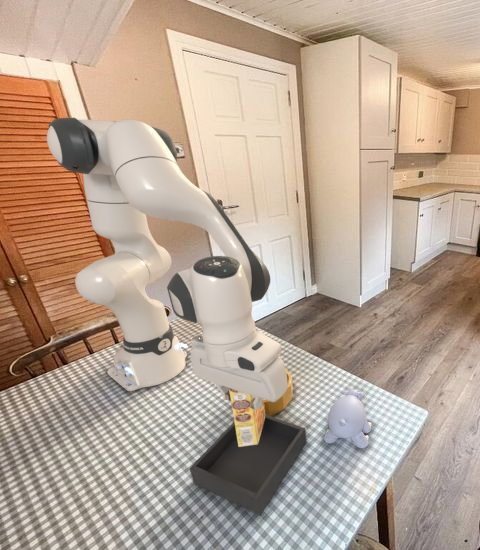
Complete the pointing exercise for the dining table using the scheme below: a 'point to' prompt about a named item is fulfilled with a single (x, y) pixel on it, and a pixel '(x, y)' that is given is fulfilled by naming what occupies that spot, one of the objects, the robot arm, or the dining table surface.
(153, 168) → the robot arm
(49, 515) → the dining table surface
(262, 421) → the candy box
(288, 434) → the bin
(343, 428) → the hippopotamus toy
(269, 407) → the ring
